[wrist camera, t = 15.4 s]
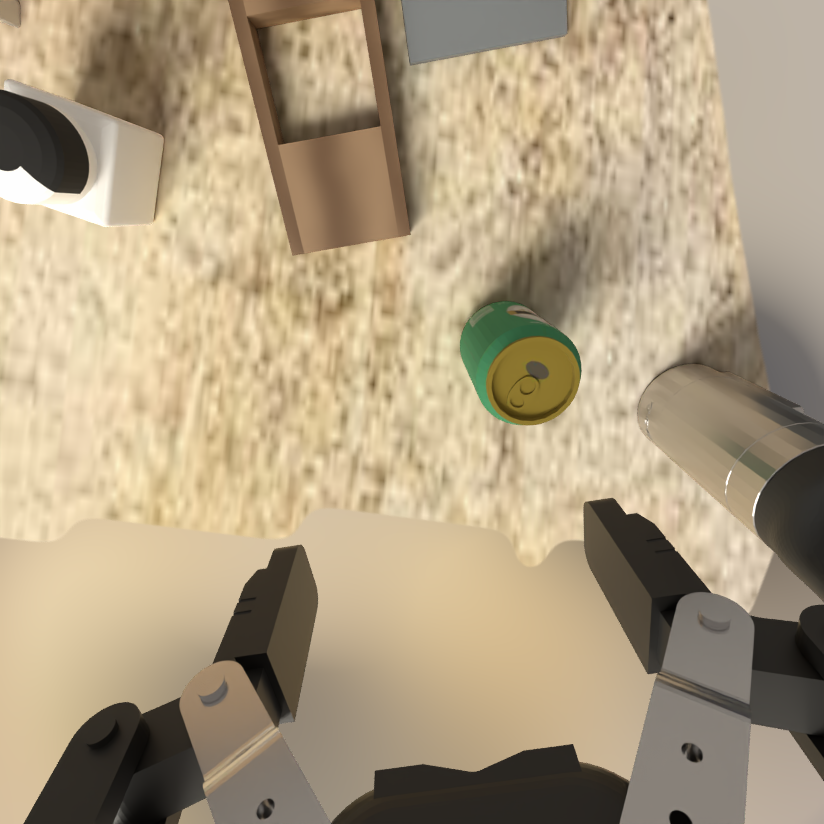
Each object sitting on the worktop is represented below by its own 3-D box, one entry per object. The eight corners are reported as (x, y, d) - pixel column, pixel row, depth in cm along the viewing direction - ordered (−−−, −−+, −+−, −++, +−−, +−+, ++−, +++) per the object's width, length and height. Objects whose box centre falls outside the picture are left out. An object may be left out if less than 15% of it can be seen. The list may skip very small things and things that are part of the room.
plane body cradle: (351, -142, 31) (343, -210, 26) (409, 233, 41) (411, 236, 36) (208, -113, 32) (172, -174, 27) (298, 253, 41) (284, 258, 36)
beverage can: (557, 325, 45) (610, 363, 34) (510, 393, 47) (544, 449, 36) (488, 283, 43) (520, 307, 32) (443, 356, 45) (457, 402, 34)
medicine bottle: (72, 100, 36) (-69, 51, 25) (166, 136, 37) (70, 104, 26) (66, 195, 39) (-65, 188, 28) (154, 226, 40) (62, 230, 29)
